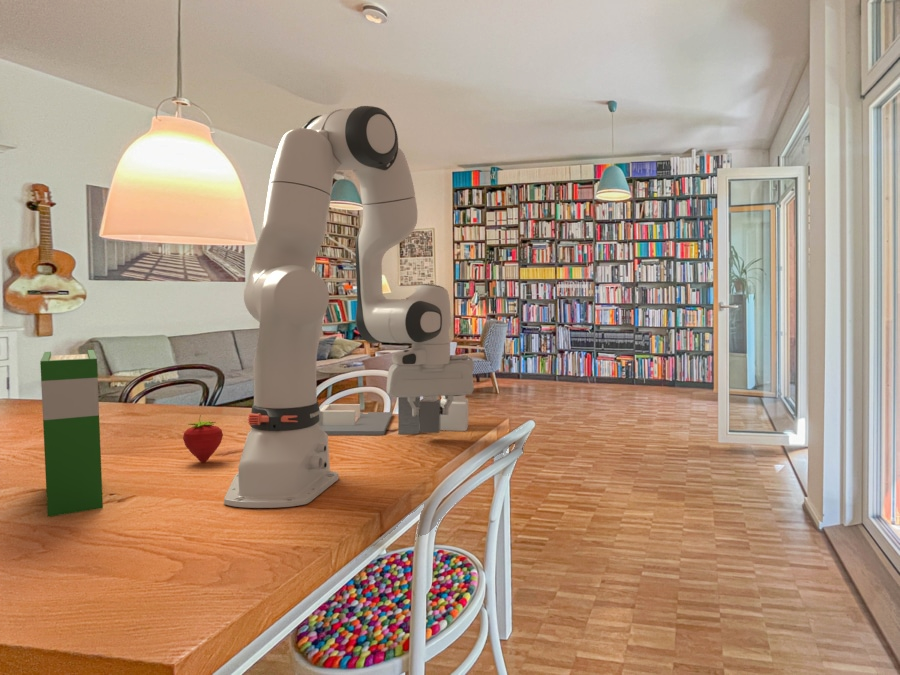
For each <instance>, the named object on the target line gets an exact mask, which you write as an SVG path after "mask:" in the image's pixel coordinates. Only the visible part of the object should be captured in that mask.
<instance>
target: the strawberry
mask: <svg viewBox="0 0 900 675" xmlns="http://www.w3.org/2000/svg"><path fill="white" fill-rule="evenodd" d="M201 415H202V414H200V415H199V419H198V421H199V422H194V423H193V422H192V423H191V422H190V423H188V424H187V425H188V426H189V425H190V426H192V427H189V428H187V429H186V430H185V431H184V432H183V436H182V439H183V442H184V445H185V447H186V449H187V450H188V451H189V452H190V454H192V455H193V456H194V457H195V458H196V459H197V460H198V461H199V462H200V463H205V462H207V461H208V460H209V459H210V458H211V456H212V455H213V454H214V453H215V452H216V450H217V449H218V448H219V447H220V445H221V443H222V440H223V438H224V433H223V431H222V429H221V428H220V427H219V426H217V425H216V426H215V425H214V424H216V423H217V422H216V421H203V420H201V417H202V416H201Z"/></svg>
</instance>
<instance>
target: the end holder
mask: <svg viewBox="0 0 900 675" xmlns="http://www.w3.org/2000/svg"><path fill="white" fill-rule="evenodd" d="M363 413H368V414H363ZM319 417H320V420H319V422H318V424H319V426H320V427H321V429H322V430H323V431H324V432H326V433H327V435H328V436H384V435H385V433H386V431H387V429H388V427H387V426H389V424H390V423H391V422H390V421H391V420H392V418H393V412H392V411H361V403H360V404H359V403H326V404H324V405H323V407H321V408H320V414H319ZM386 428H387V429H386Z"/></svg>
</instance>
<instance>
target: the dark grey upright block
mask: <svg viewBox="0 0 900 675" xmlns="http://www.w3.org/2000/svg"><path fill="white" fill-rule="evenodd" d="M397 400H398V402H397V405H398V407H397V408H398V409H397V410H398V415H397V417H398V418H397V419H398V424H397V425H398V427H397V431H398V435H420V416H413V415H412V407H411V405H410V404H409V402H408V397H397ZM420 401H421V396H420V397H415V401H413V403H414V405H415V406H416V407H418V408H420ZM419 413H420V412H419Z"/></svg>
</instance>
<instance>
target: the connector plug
mask: <svg viewBox="0 0 900 675" xmlns="http://www.w3.org/2000/svg"><path fill="white" fill-rule="evenodd" d="M441 399H442V398H441ZM441 399H439V396H422V399H420V432H419V434H420V433H422V434H423V433H425V434H427V433H429V434H439V433H440V432H441V431H440V422H441V413H440V411H441V409H440V407H441Z"/></svg>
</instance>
